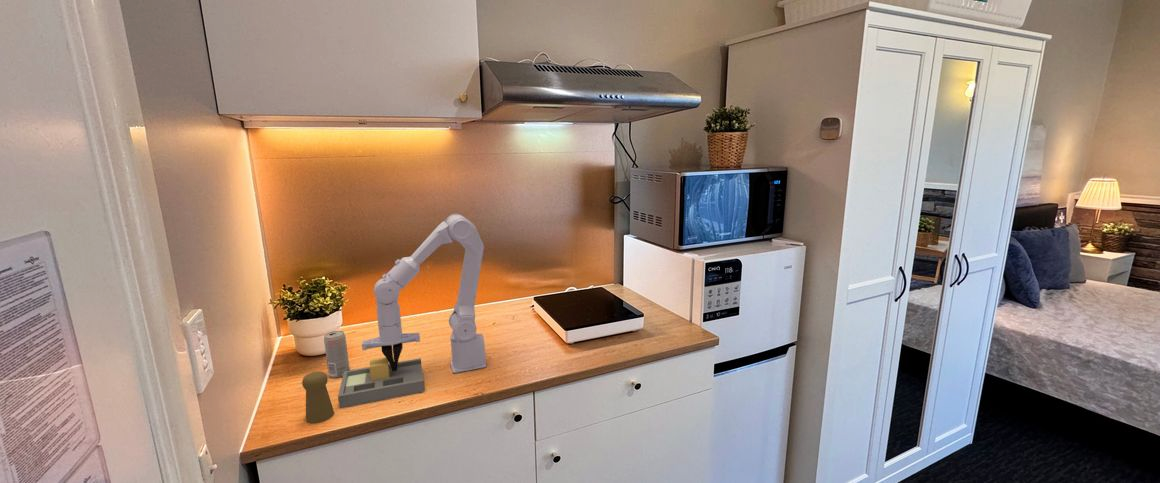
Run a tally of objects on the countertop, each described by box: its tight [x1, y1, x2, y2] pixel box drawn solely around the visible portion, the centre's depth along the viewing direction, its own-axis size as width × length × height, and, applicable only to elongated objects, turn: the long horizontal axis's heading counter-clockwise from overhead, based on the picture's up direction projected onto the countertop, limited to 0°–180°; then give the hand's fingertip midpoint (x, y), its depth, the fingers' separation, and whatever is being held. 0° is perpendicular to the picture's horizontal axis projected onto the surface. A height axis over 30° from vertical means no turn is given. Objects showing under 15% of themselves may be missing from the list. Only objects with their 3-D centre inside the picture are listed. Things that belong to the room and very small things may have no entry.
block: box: [369, 356, 390, 381], centre depth 127 cm, size 4×4×4 cm
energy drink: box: [323, 330, 351, 379], centre depth 131 cm, size 5×5×12 cm
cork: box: [301, 370, 335, 425], centre depth 111 cm, size 6×6×11 cm
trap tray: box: [337, 357, 425, 409], centre depth 125 cm, size 20×14×3 cm
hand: (394, 369), depth 128 cm, fingers closed
